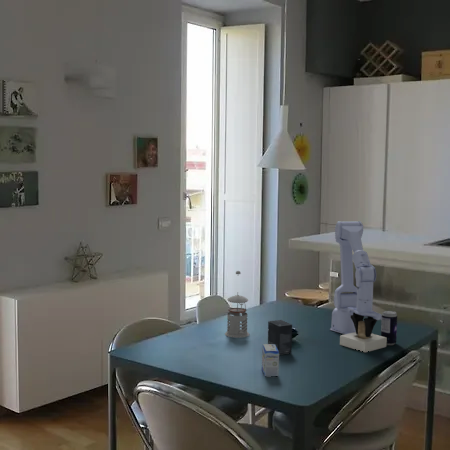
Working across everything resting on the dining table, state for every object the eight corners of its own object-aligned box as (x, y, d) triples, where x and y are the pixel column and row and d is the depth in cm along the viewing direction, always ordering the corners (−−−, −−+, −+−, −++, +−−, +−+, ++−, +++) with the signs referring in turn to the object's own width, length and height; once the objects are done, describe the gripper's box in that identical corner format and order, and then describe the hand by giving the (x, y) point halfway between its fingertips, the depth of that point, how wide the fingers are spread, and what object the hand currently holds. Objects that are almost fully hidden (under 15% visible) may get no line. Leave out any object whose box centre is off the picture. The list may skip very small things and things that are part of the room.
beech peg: (355, 342, 259) (356, 321, 258) (362, 341, 262) (363, 320, 261) (363, 345, 256) (364, 324, 255) (370, 343, 259) (371, 322, 258)
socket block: (339, 344, 260) (340, 335, 260) (361, 339, 267) (361, 330, 267) (364, 352, 251) (365, 342, 250) (386, 346, 258) (386, 337, 258)
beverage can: (396, 346, 259) (397, 314, 258) (380, 345, 260) (381, 313, 259) (396, 342, 264) (397, 311, 263) (380, 341, 266) (381, 310, 264)
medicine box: (261, 369, 230) (262, 343, 229) (274, 369, 231) (275, 343, 230) (264, 377, 222) (265, 350, 221) (278, 377, 223) (279, 350, 222)
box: (291, 353, 248) (292, 324, 247) (278, 355, 246) (278, 325, 245) (280, 347, 255) (281, 319, 254) (267, 349, 253) (267, 320, 252)
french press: (220, 335, 270) (221, 271, 267) (231, 328, 281) (232, 267, 278) (244, 338, 266) (245, 274, 263) (254, 331, 277) (256, 269, 274)
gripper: (342, 296, 260) (341, 332, 262) (373, 304, 249) (371, 341, 251) (355, 294, 265) (353, 329, 266) (385, 301, 253) (384, 338, 255)
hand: (363, 335), depth 259 cm, fingers closed on beech peg, 4 cm apart
